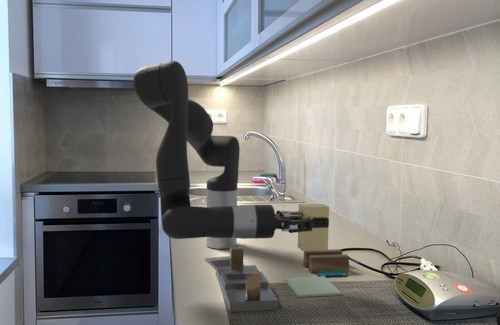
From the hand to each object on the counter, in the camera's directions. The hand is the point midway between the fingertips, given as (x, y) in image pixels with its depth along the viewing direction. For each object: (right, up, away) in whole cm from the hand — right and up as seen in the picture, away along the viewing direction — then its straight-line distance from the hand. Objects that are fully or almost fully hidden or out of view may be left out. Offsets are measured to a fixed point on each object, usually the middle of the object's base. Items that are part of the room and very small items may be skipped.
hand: (324, 220), depth 120 cm
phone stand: (+3, -14, +16) cm, 22 cm away
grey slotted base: (-19, -16, -2) cm, 24 cm away
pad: (-3, -16, +1) cm, 16 cm away
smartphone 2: (+2, -15, +16) cm, 22 cm away
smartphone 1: (-23, -14, +18) cm, 33 cm away
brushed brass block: (-3, -6, 0) cm, 7 cm away
